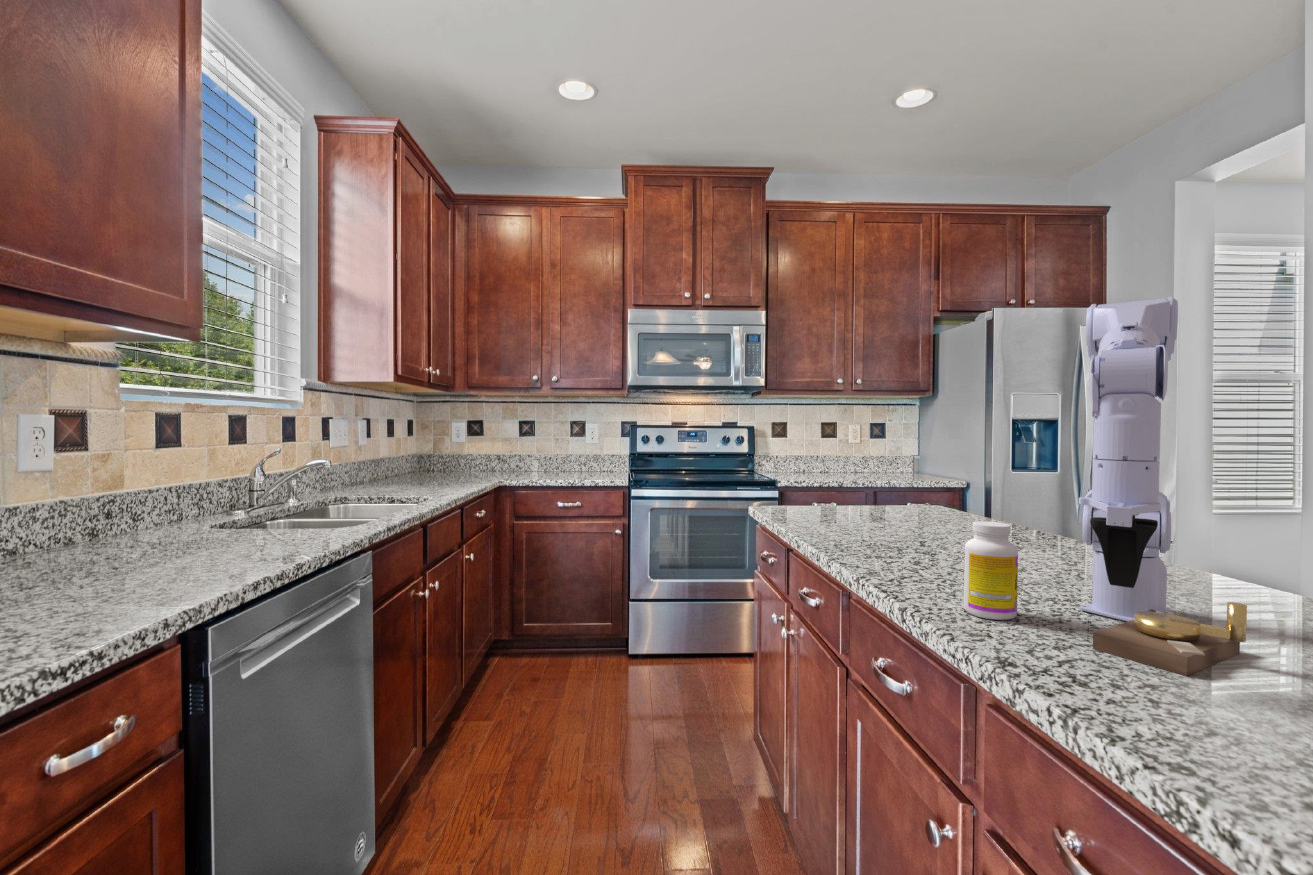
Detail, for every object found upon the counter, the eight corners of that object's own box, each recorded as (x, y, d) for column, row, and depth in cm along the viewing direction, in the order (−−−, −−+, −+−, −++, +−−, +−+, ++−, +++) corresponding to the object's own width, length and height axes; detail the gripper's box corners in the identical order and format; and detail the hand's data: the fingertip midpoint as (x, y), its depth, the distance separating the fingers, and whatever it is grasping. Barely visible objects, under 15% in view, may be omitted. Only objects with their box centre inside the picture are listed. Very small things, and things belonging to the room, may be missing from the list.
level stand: (1148, 630, 79) (1149, 603, 79) (1246, 655, 71) (1247, 624, 71) (1092, 648, 72) (1093, 618, 72) (1194, 678, 64) (1195, 644, 64)
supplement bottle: (1024, 623, 82) (1026, 528, 81) (971, 619, 83) (973, 526, 83) (1006, 608, 88) (1008, 521, 88) (957, 605, 90) (959, 519, 89)
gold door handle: (1132, 632, 72) (1133, 594, 71) (1135, 620, 76) (1136, 584, 76) (1248, 653, 65) (1249, 611, 65) (1243, 638, 70) (1244, 599, 70)
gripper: (1087, 456, 73) (1084, 567, 74) (1071, 460, 62) (1068, 591, 63) (1163, 458, 69) (1160, 577, 69) (1160, 464, 58) (1156, 605, 58)
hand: (1122, 585), depth 65 cm, fingers closed
